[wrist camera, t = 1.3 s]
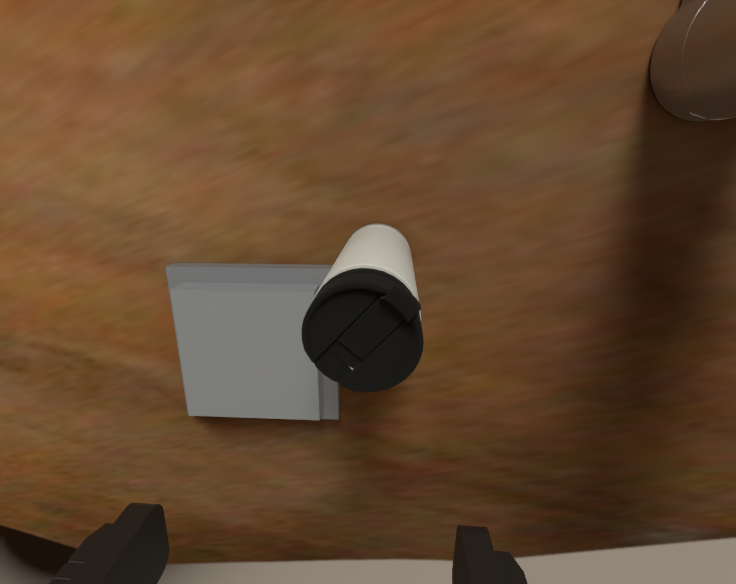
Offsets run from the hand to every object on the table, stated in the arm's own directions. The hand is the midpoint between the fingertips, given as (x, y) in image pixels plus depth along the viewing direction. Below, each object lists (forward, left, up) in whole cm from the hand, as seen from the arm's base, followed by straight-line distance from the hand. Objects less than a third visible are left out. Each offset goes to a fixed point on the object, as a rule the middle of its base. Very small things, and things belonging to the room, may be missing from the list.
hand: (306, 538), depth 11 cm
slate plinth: (+8, -11, -30) cm, 33 cm away
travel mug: (-1, +1, -30) cm, 30 cm away
